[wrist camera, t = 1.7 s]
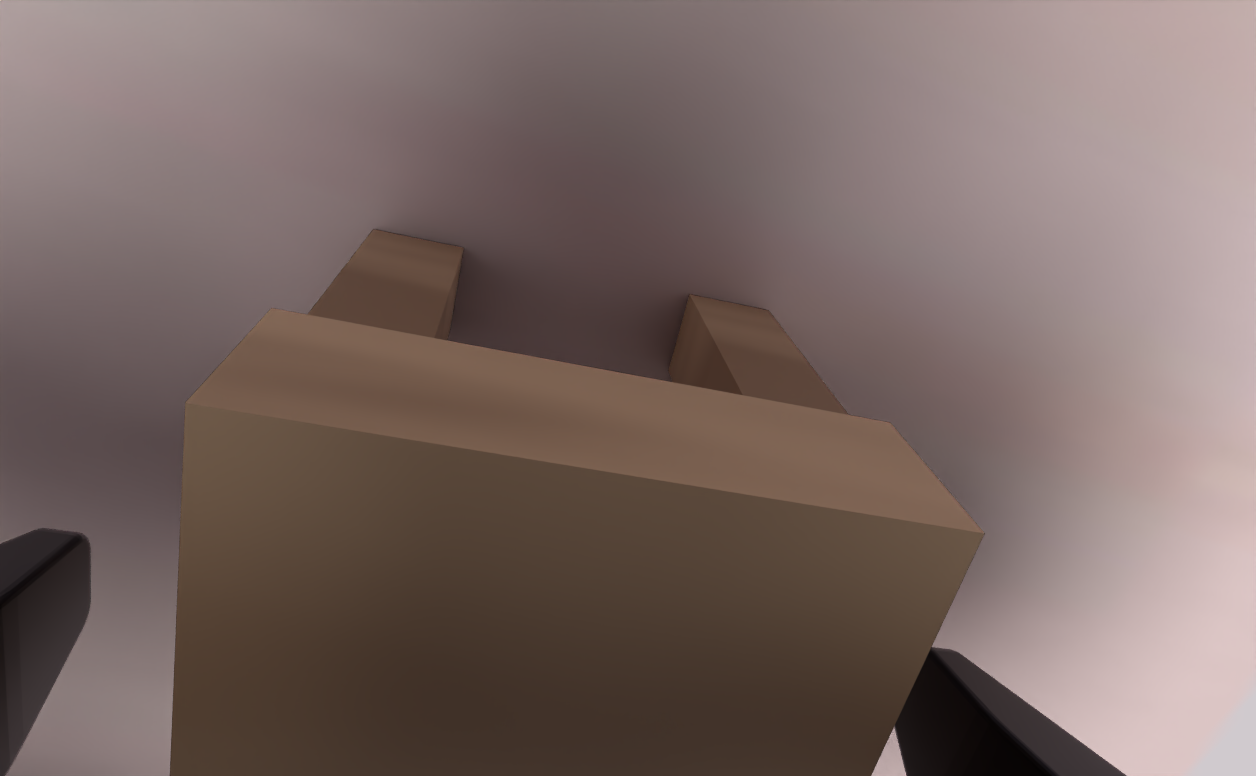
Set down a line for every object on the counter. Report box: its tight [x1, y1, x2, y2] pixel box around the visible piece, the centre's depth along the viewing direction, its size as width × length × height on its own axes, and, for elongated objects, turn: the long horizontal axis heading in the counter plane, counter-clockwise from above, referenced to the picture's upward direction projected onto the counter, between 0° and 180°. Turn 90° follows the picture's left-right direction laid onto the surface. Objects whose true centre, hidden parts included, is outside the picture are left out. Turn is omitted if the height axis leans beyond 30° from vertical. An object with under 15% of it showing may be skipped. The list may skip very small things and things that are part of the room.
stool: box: [170, 229, 985, 776], centre depth 10 cm, size 6×6×6 cm
